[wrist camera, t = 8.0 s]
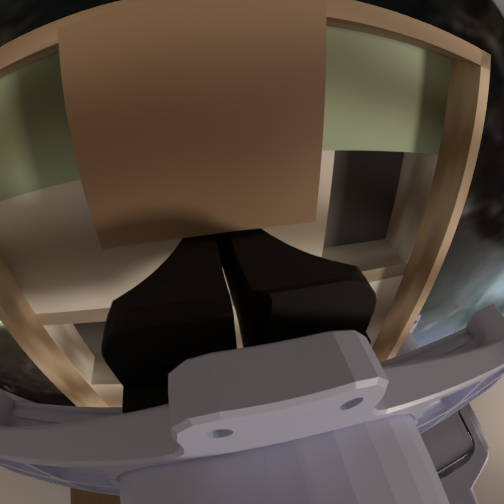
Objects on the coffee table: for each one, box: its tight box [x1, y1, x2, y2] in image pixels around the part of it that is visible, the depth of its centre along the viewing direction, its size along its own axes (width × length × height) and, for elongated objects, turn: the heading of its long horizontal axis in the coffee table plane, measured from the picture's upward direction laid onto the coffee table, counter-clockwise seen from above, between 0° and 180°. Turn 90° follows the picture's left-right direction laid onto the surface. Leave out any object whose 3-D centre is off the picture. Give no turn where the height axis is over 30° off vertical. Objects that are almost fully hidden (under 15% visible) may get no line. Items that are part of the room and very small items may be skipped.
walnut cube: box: [58, 0, 326, 250], centre depth 8 cm, size 6×6×4 cm
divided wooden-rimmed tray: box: [0, 0, 491, 407], centre depth 15 cm, size 26×24×5 cm
